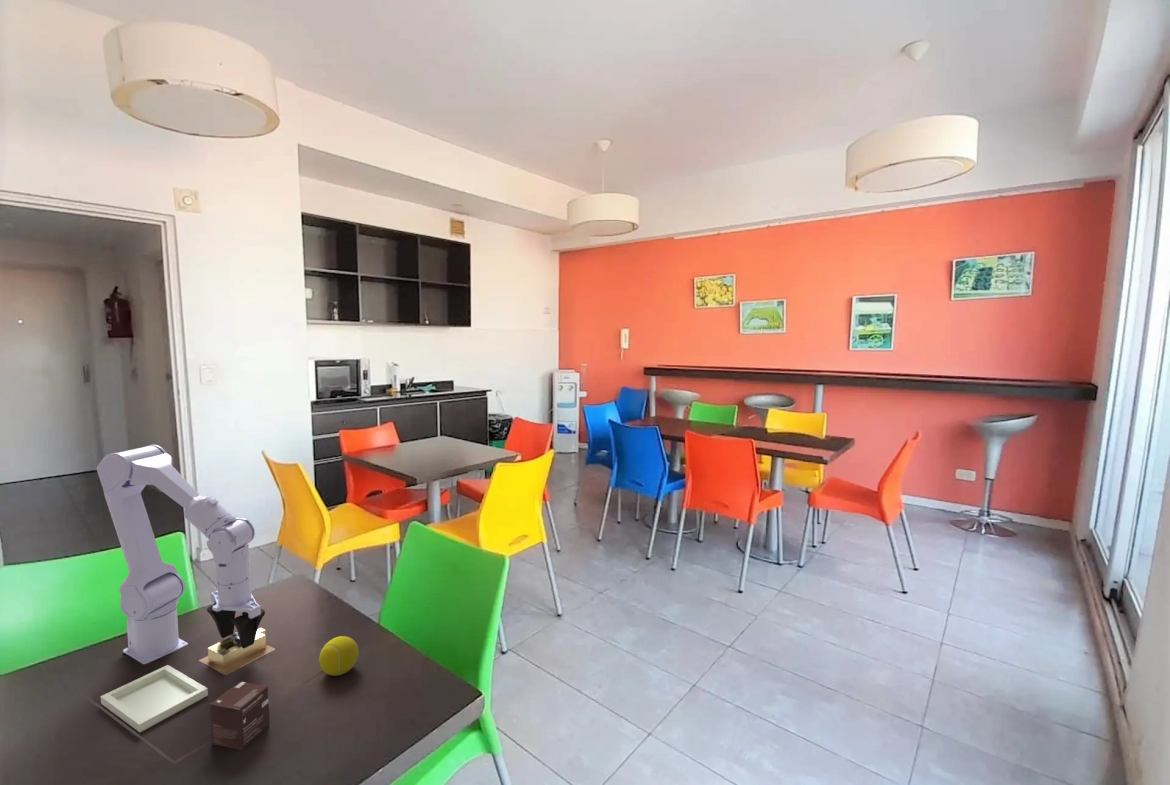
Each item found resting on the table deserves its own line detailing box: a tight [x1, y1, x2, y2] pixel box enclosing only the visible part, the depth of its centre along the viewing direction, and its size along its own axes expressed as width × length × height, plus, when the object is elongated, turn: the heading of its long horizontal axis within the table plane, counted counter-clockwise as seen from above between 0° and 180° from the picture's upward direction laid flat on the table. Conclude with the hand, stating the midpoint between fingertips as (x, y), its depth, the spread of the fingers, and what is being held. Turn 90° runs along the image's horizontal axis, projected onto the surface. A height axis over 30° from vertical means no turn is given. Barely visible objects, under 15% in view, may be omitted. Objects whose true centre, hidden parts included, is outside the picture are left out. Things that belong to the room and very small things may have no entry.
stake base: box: [198, 644, 276, 677], centre depth 108 cm, size 10×10×1 cm
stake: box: [229, 631, 240, 647], centre depth 108 cm, size 4×1×4 cm, turn 63°
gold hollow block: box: [207, 627, 267, 670], centre depth 109 cm, size 6×10×3 cm, turn 153°
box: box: [209, 681, 271, 750], centre depth 87 cm, size 6×6×7 cm
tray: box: [100, 664, 209, 734], centre depth 95 cm, size 14×10×2 cm
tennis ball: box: [318, 635, 359, 677], centre depth 104 cm, size 7×7×7 cm
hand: (237, 640), depth 108 cm, fingers open, 7 cm apart
